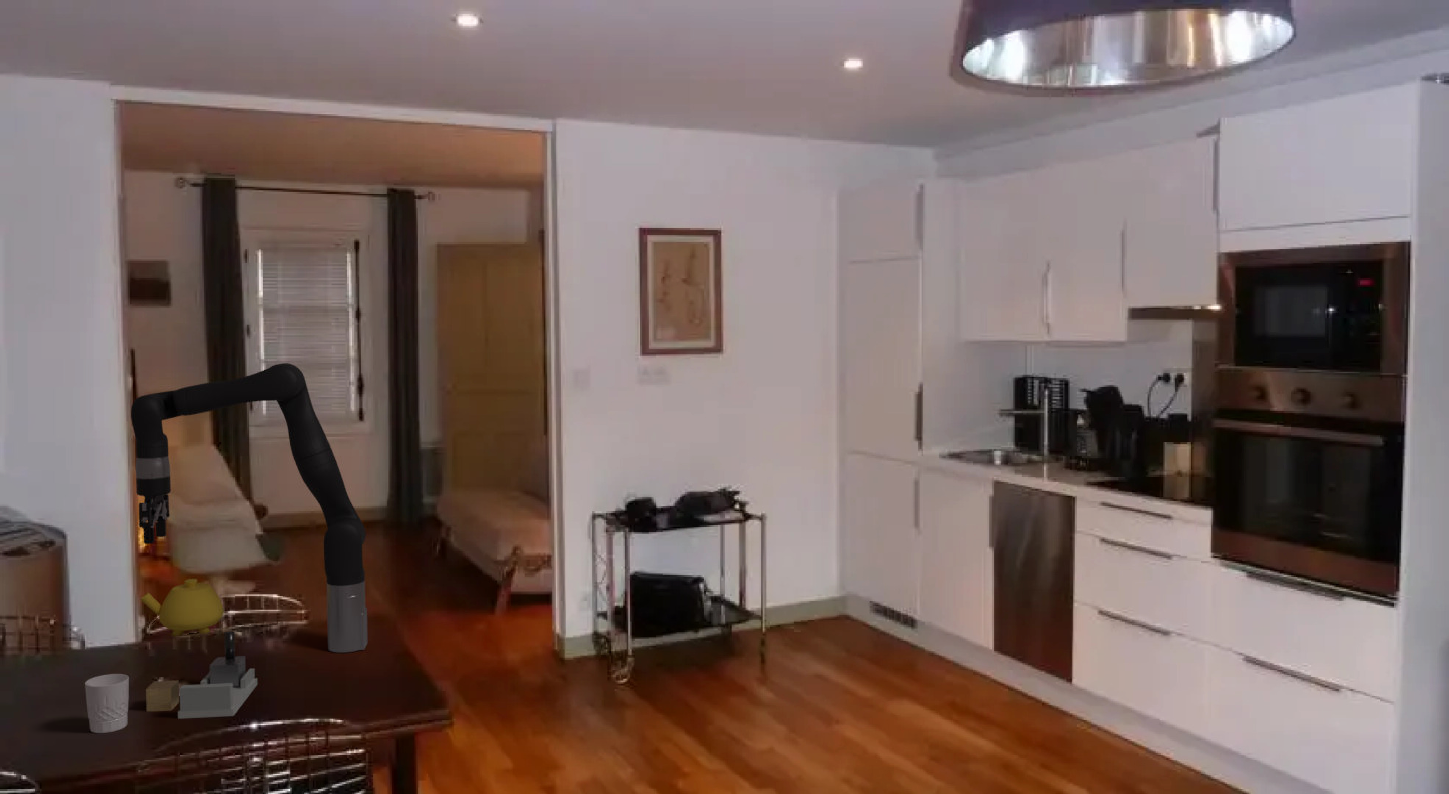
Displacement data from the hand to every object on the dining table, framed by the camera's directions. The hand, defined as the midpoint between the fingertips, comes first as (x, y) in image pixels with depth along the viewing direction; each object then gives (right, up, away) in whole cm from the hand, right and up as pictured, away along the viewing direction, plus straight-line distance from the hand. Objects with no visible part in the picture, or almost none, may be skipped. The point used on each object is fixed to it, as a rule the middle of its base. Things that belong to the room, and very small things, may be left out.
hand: (155, 540), depth 271 cm
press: (+29, -32, -29) cm, 52 cm away
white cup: (+14, -33, -45) cm, 57 cm away
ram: (+28, -29, -22) cm, 46 cm away
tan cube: (+19, -32, -33) cm, 50 cm away
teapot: (-5, -28, +24) cm, 37 cm away
